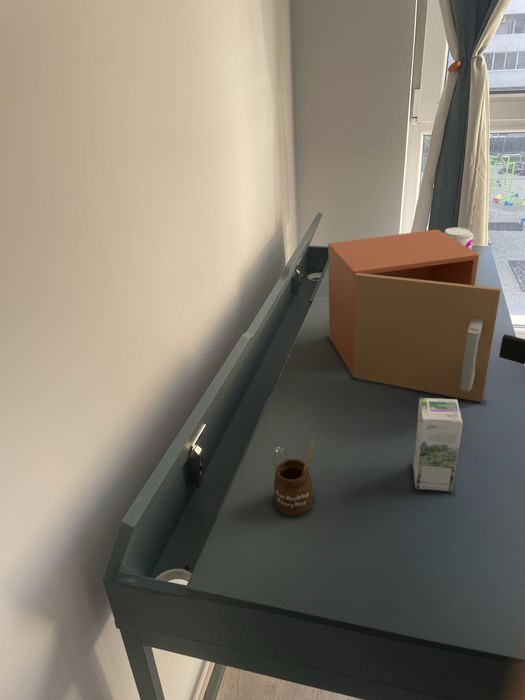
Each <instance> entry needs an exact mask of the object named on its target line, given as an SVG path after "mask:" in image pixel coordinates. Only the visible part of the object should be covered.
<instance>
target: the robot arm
mask: <svg viewBox="0 0 525 700" xmlns="http://www.w3.org/2000/svg"><path fill="white" fill-rule="evenodd" d="M498 358H500V359H504V360H508V361H512V362H514V363H519V364H523V365H525V338H521V337H518V336H514V335H509V334H503V336H502V338H501V343H500V350H499V354H498Z"/></svg>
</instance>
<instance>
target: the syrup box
mask: <svg viewBox="0 0 525 700" xmlns="http://www.w3.org/2000/svg"><path fill="white" fill-rule="evenodd" d="M463 424H464V422H463V419H462V414H461V409H460V407H459V402H458V398H455V399H454V398H432V397H431V398H430V397H429V398H428V397H419V401H418V409H417V419H416V431H415V441H414V453H413V461H412V468H413V477H414V487H415V490H418V491H419V490H420V491H434V492H445V493H446V492H449V493H452V492H453V487H454V481H455V475H456V467H457V462H458V456H459V451H460V450H459V449H460V443H461V438H462V430H463Z"/></svg>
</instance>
